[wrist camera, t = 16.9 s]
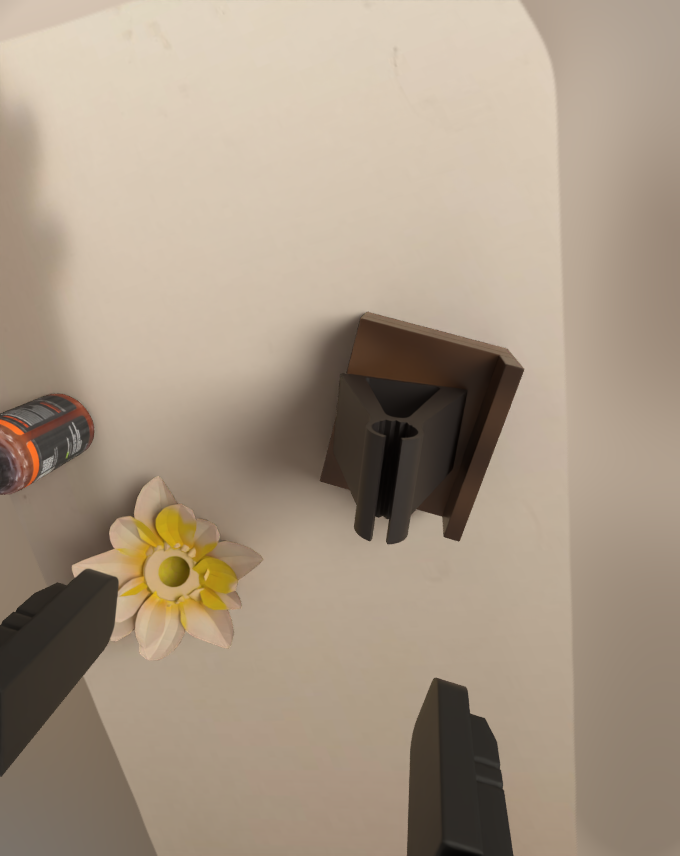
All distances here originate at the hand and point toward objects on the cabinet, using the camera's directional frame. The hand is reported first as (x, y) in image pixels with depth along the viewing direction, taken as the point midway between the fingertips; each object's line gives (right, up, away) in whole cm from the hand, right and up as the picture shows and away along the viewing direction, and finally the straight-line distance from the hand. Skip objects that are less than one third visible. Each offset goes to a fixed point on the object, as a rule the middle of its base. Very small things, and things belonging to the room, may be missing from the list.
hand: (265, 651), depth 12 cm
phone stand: (+6, +6, +25) cm, 26 cm away
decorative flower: (-12, -6, +37) cm, 39 cm away
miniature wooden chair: (+8, +7, +29) cm, 30 cm away
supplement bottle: (-23, +6, +34) cm, 42 cm away
